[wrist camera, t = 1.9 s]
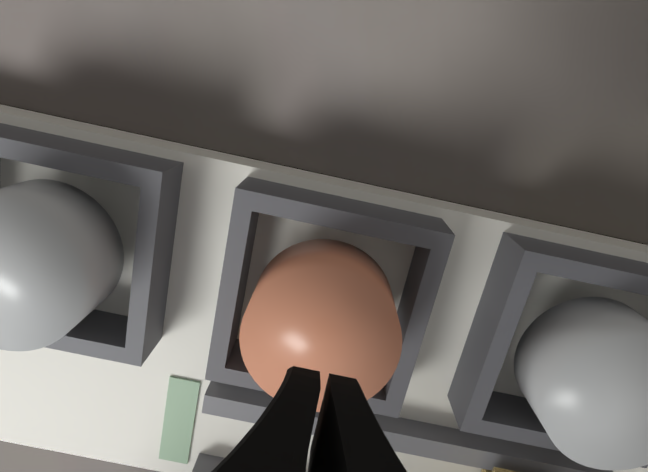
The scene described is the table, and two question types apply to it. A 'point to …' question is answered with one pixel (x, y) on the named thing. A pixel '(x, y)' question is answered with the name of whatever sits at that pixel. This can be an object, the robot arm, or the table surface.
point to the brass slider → (497, 470)
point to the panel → (239, 284)
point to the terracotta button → (322, 318)
